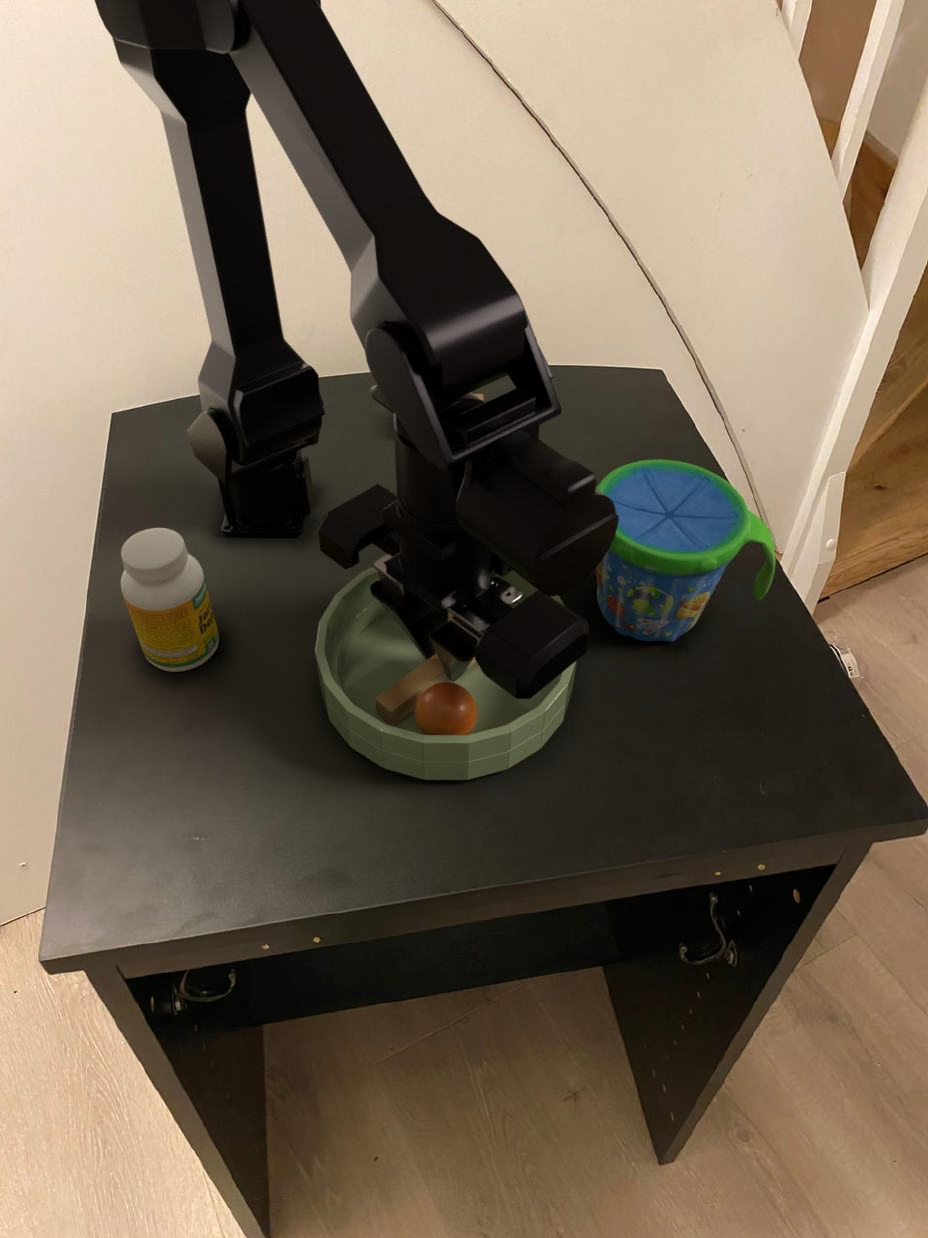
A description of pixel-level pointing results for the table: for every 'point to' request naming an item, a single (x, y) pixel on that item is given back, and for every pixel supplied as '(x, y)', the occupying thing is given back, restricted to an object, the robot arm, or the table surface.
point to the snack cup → (672, 546)
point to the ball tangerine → (446, 710)
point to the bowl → (377, 659)
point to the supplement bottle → (168, 600)
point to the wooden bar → (410, 690)
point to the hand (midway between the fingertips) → (446, 670)
